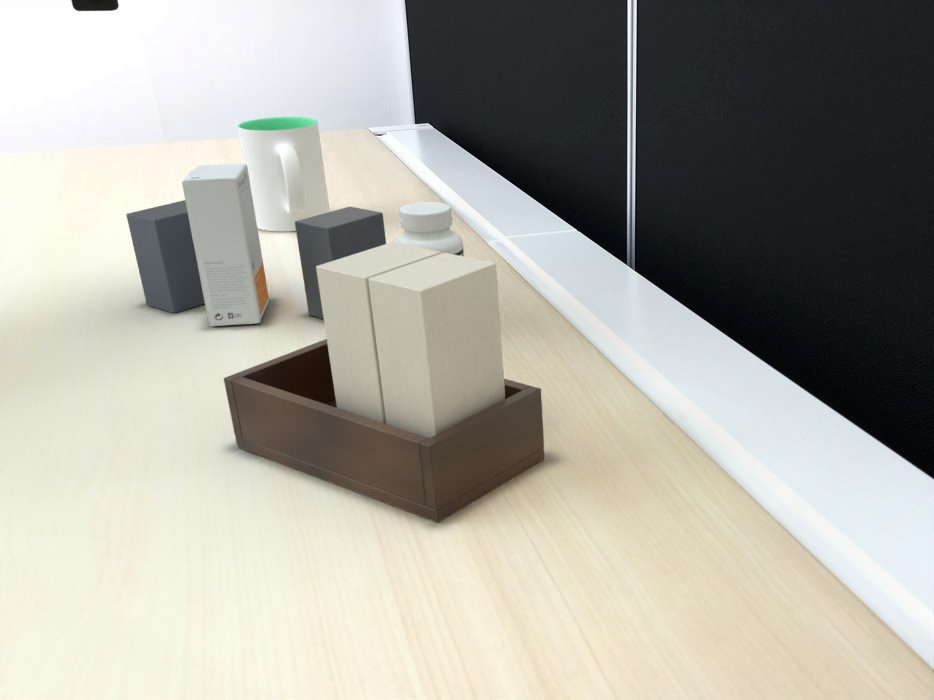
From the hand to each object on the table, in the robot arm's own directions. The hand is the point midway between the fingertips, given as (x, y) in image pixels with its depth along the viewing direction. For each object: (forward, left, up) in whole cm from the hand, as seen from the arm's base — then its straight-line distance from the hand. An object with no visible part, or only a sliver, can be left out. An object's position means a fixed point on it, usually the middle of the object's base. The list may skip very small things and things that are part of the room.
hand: (127, 4), depth 85 cm
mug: (-13, +23, -24) cm, 36 cm away
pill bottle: (+22, +8, -24) cm, 34 cm away
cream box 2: (+42, -11, -23) cm, 49 cm away
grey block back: (-1, +1, -24) cm, 24 cm away
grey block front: (+13, +7, -24) cm, 28 cm away
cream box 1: (+37, -11, -23) cm, 46 cm away
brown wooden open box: (+36, -11, -24) cm, 45 cm away
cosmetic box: (+6, +1, -24) cm, 25 cm away
